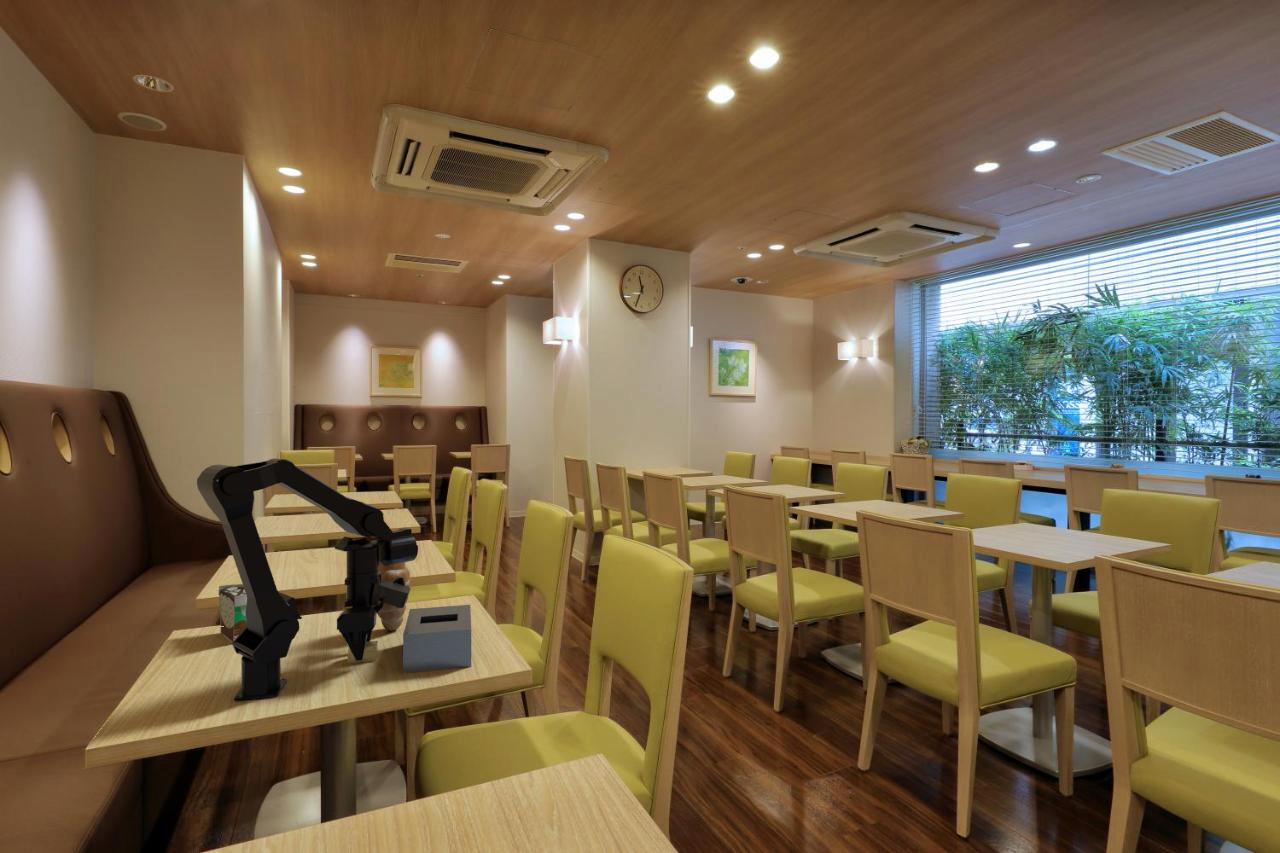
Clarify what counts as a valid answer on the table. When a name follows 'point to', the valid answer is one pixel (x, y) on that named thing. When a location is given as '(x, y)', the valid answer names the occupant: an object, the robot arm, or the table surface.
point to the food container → (232, 610)
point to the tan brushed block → (365, 653)
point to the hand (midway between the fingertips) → (363, 651)
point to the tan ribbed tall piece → (389, 613)
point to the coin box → (437, 638)
